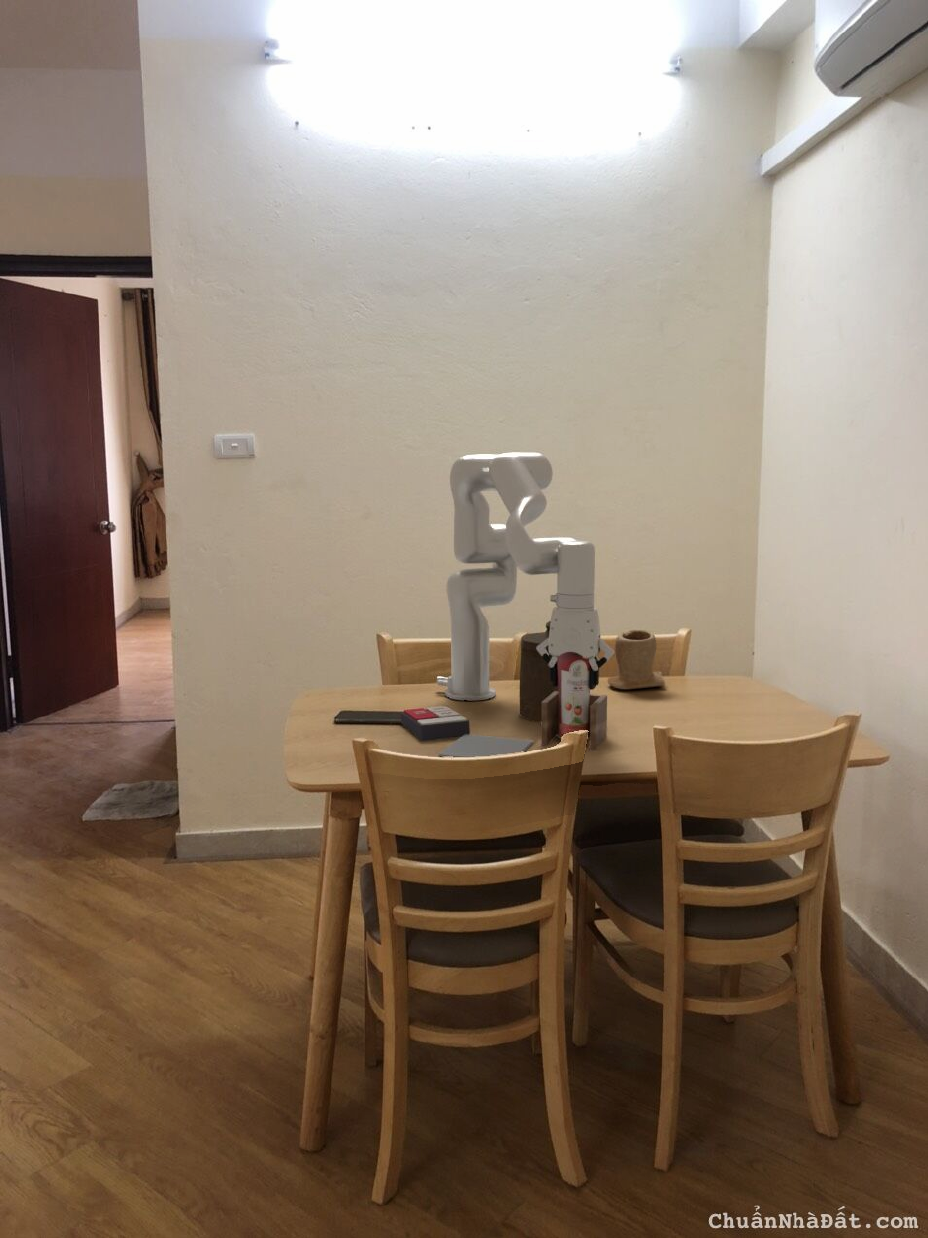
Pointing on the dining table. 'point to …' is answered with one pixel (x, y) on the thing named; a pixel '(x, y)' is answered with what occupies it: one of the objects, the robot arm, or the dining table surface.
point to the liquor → (573, 692)
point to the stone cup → (636, 661)
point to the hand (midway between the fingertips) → (574, 686)
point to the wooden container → (534, 676)
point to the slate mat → (484, 746)
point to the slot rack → (595, 723)
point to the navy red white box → (435, 723)
